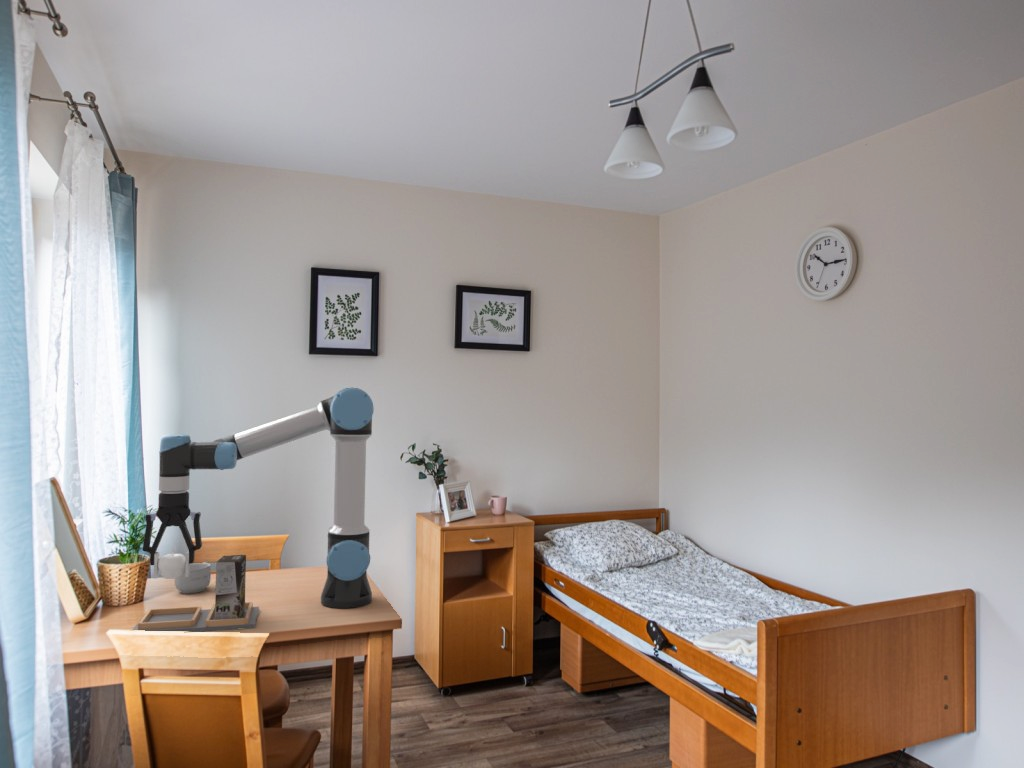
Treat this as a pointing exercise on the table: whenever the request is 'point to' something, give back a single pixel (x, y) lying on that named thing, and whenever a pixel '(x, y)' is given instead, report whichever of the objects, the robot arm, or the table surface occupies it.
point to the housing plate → (194, 619)
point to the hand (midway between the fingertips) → (172, 576)
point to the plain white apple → (172, 565)
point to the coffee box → (230, 587)
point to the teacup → (194, 578)
